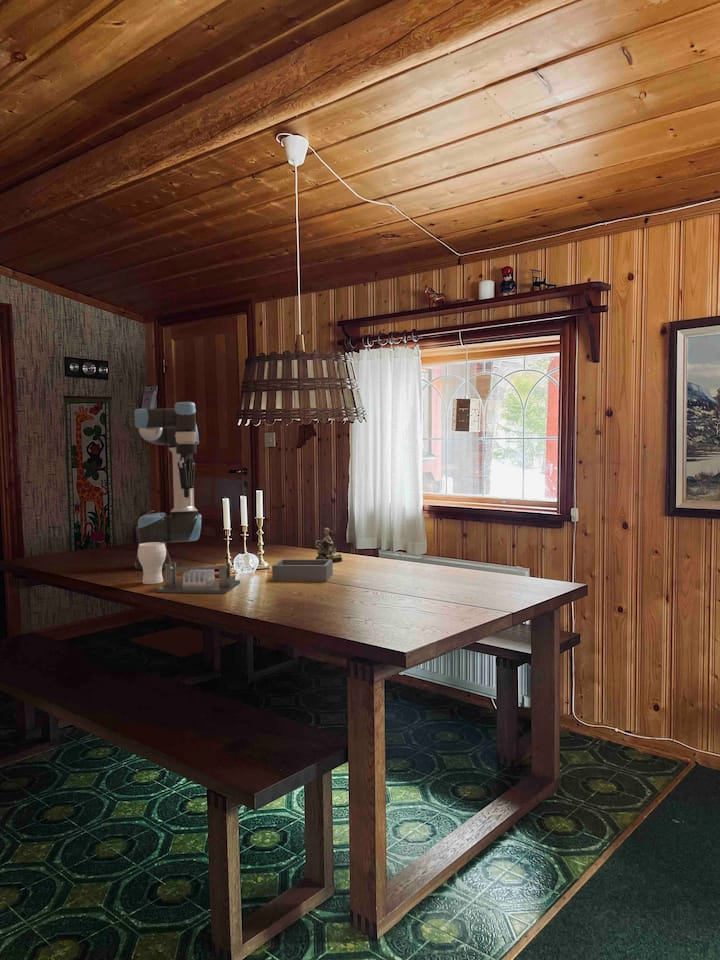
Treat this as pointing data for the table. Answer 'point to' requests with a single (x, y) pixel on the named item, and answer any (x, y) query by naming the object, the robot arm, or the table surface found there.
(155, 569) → the cup
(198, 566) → the strap
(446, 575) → the table surface
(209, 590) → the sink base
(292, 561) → the tray
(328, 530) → the figurine
